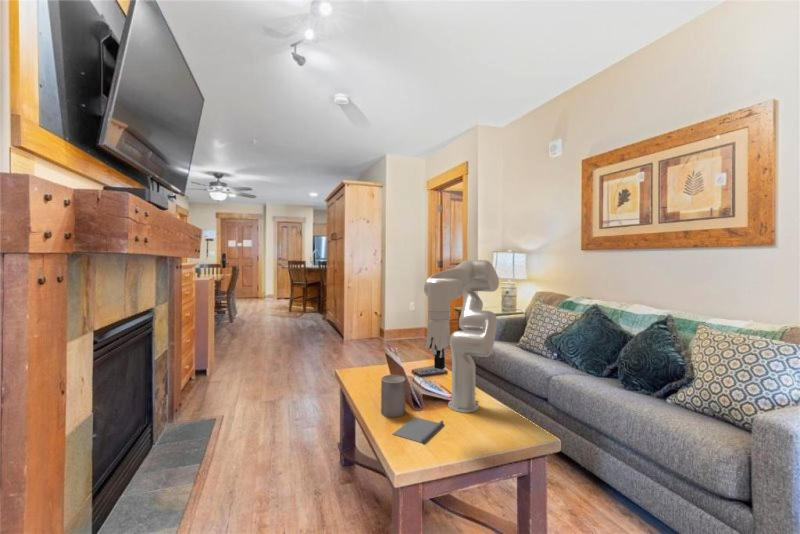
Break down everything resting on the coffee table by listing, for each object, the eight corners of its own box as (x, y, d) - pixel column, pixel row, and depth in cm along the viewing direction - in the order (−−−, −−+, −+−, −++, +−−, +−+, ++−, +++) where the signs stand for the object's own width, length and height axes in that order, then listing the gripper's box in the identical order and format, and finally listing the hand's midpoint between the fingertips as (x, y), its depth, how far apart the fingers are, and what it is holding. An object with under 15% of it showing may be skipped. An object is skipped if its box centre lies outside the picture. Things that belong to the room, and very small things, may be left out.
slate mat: (414, 417, 136) (414, 413, 136) (444, 425, 130) (444, 421, 130) (392, 435, 122) (392, 430, 122) (424, 444, 116) (424, 439, 116)
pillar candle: (388, 406, 147) (388, 370, 147) (409, 410, 143) (409, 373, 143) (376, 415, 139) (376, 376, 139) (398, 419, 134) (398, 380, 134)
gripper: (438, 312, 131) (439, 361, 131) (419, 317, 118) (419, 372, 119) (457, 313, 127) (457, 364, 127) (440, 319, 114) (440, 376, 115)
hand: (439, 368), depth 123 cm, fingers closed
